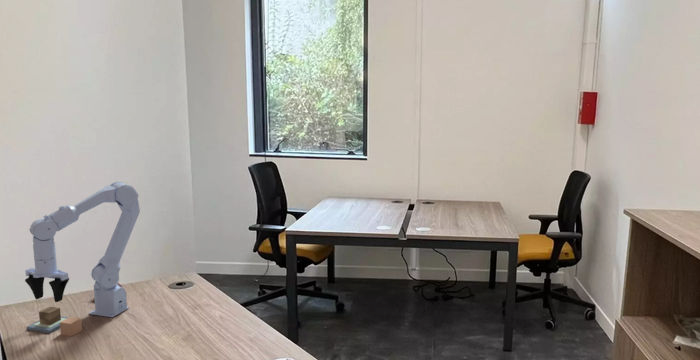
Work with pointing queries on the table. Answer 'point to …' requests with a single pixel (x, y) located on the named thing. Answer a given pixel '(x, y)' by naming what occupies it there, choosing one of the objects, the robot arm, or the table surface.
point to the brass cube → (49, 315)
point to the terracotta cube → (70, 326)
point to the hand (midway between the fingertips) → (48, 299)
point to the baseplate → (45, 326)
